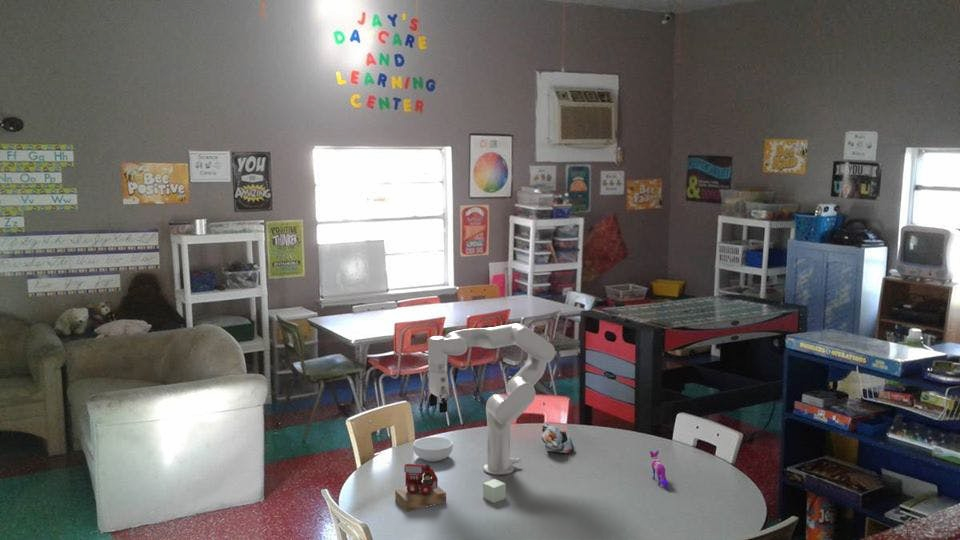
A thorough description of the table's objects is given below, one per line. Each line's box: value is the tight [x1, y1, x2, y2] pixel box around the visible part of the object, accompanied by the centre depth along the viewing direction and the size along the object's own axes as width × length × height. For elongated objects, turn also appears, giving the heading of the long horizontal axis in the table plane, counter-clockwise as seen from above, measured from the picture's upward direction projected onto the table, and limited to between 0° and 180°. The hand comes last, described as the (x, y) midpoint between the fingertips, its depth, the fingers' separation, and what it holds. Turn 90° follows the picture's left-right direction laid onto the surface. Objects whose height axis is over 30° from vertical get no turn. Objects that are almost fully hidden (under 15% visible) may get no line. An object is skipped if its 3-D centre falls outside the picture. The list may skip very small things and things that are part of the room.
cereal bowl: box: [412, 436, 454, 463], centre depth 341 cm, size 17×17×7 cm
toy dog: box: [649, 450, 669, 488], centre depth 316 cm, size 4×18×10 cm, turn 6°
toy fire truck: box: [403, 463, 439, 495], centre depth 297 cm, size 7×12×10 cm, turn 83°
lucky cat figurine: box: [541, 423, 576, 455], centre depth 350 cm, size 15×12×14 cm
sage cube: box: [482, 478, 507, 504], centre depth 301 cm, size 6×6×6 cm
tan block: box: [394, 485, 447, 512], centre depth 298 cm, size 16×11×4 cm
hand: (438, 408), depth 318 cm, fingers open, 9 cm apart
